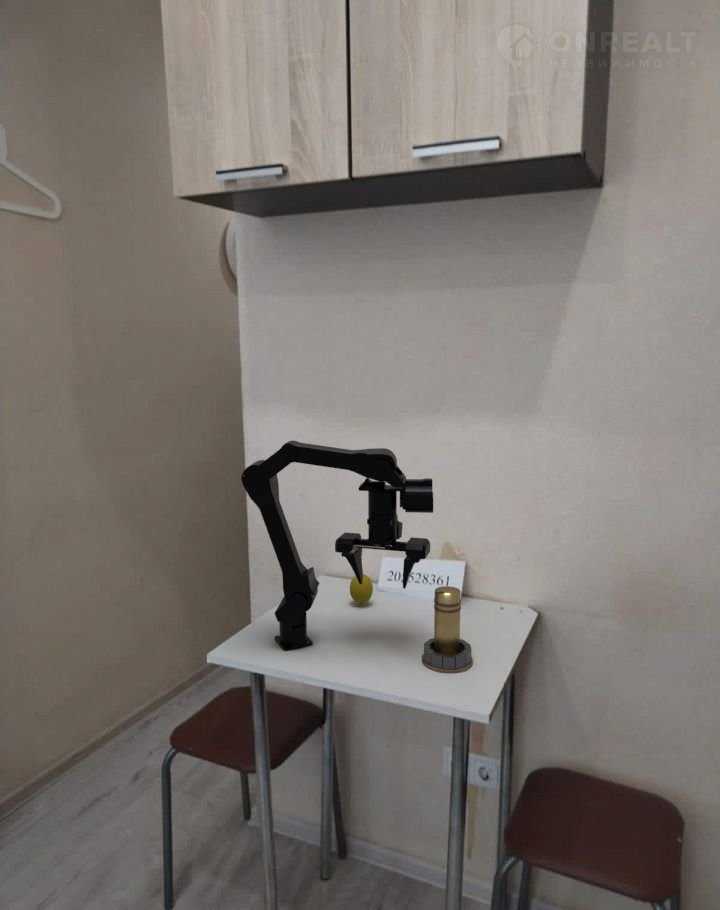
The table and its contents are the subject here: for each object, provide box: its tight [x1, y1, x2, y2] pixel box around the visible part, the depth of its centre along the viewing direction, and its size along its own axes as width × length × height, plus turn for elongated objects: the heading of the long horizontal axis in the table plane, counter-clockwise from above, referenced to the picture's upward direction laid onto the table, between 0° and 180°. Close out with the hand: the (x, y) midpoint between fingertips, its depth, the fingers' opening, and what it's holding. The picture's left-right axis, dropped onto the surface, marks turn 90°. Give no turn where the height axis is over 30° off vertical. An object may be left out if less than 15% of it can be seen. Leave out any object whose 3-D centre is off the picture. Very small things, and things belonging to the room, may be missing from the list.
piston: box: [433, 586, 462, 655], centre depth 131 cm, size 5×5×14 cm
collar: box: [423, 637, 472, 670], centre depth 132 cm, size 9×9×2 cm
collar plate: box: [421, 653, 474, 674], centre depth 132 cm, size 10×10×1 cm
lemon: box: [349, 573, 374, 606], centre depth 161 cm, size 6×6×8 cm
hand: (382, 585), depth 137 cm, fingers open, 9 cm apart
